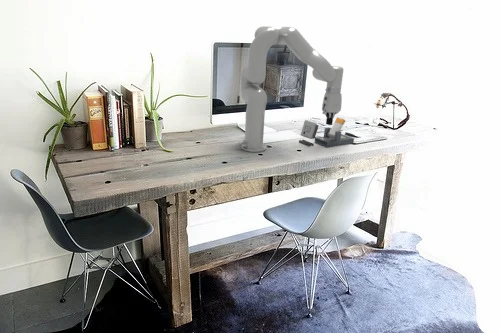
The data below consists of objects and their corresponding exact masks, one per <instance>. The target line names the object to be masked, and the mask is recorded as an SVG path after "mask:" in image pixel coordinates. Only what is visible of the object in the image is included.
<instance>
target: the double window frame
mask: <svg viewBox="0 0 500 333" xmlns="http://www.w3.org/2000/svg"><path fill="white" fill-rule="evenodd" d="M331 128H332V127H325V128H324V131H323V136H318V137H315V138H314V143H313V144H315V145H317V146H320V147H322V148H325V149H328V148H329V149H330V148H335V147H340V146H341V147H342V146H346V145H353V144H354V142H355V138H354V137H352V136H348V135H345V134H343V133H342V131H341V130H340V131H336V132H335V139H334V138H331V137H329V136H327V134H328V133H329V132H330V130H331Z"/></svg>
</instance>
